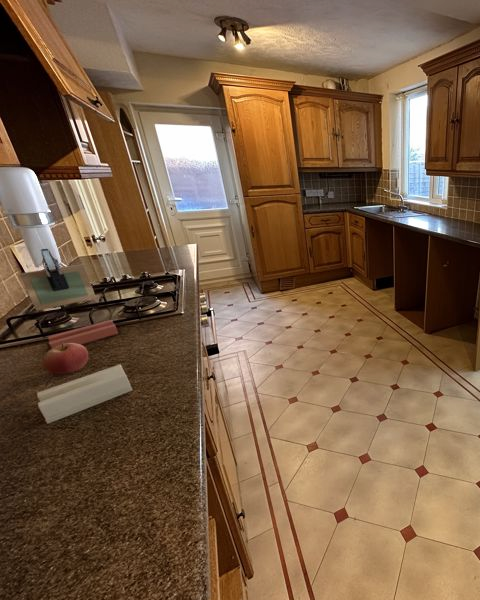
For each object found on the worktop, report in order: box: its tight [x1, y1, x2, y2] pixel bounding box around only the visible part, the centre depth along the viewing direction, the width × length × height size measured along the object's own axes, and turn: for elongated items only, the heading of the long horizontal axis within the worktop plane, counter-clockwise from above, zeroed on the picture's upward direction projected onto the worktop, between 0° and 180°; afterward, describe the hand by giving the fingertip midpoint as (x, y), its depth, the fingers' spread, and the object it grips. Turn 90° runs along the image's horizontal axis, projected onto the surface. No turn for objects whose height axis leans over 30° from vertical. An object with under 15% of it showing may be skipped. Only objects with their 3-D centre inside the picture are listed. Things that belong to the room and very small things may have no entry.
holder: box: [36, 364, 133, 425], centre depth 72 cm, size 8×14×4 cm, turn 138°
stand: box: [47, 319, 119, 349], centre depth 94 cm, size 8×14×4 cm, turn 138°
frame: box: [19, 263, 97, 312], centre depth 88 cm, size 2×12×10 cm, turn 138°
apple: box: [42, 343, 89, 375], centre depth 81 cm, size 8×8×8 cm
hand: (60, 288), depth 88 cm, fingers closed on frame, 1 cm apart
